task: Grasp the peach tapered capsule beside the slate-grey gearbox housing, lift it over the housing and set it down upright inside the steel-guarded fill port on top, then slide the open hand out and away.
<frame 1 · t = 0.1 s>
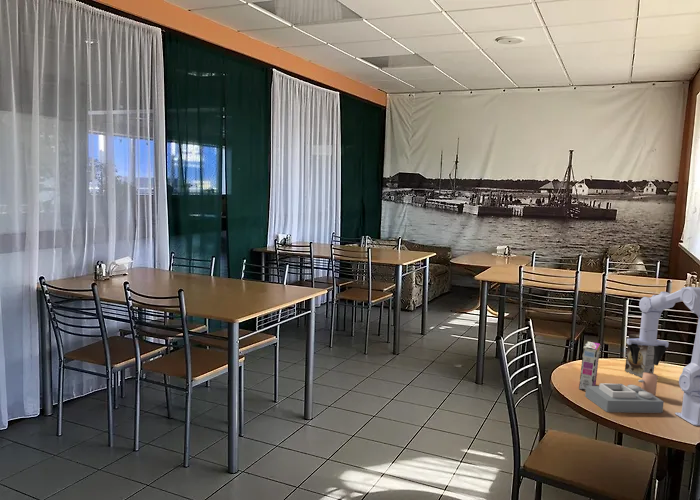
hand: (645, 364, 207), 10 cm above the table, tool pointing down, fingers open, 7 cm apart
candy bar box: (587, 387, 208), on the table
coffee box: (638, 374, 227), on the table
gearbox: (622, 404, 191), on the table
peach tapered capsule: (648, 395, 202), on the table
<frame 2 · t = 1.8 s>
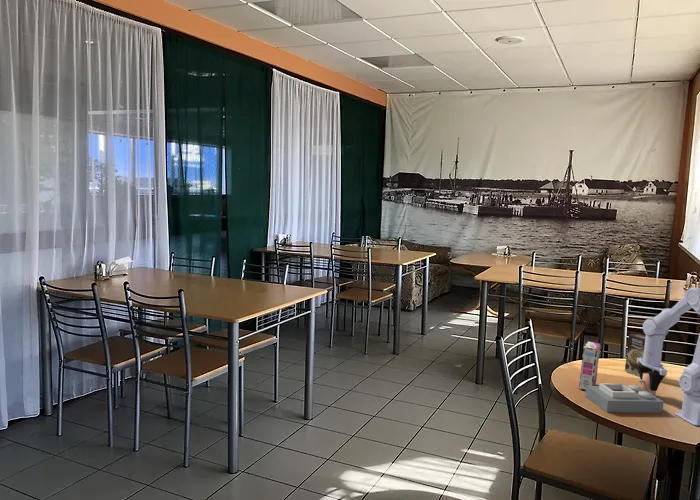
hand: (648, 387, 201), 3 cm above the table, tool pointing down, fingers closed on peach tapered capsule, 5 cm apart
peach tapered capsule: (648, 395, 202), on the table, touching gripper
everything else where it was.
when the fingers open (8 cm above the table, at t = 5.5 s): peach tapered capsule stays where it is, resting on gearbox.
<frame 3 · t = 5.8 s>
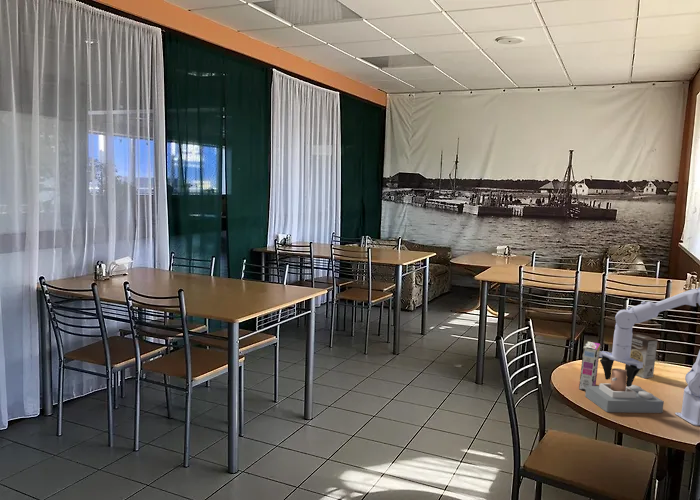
hand: (618, 382, 190), 8 cm above the table, tool pointing down, fingers open, 7 cm apart
peach tapered capsule: (617, 392, 191), point 4 cm above the table, touching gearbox
everything else where it was.
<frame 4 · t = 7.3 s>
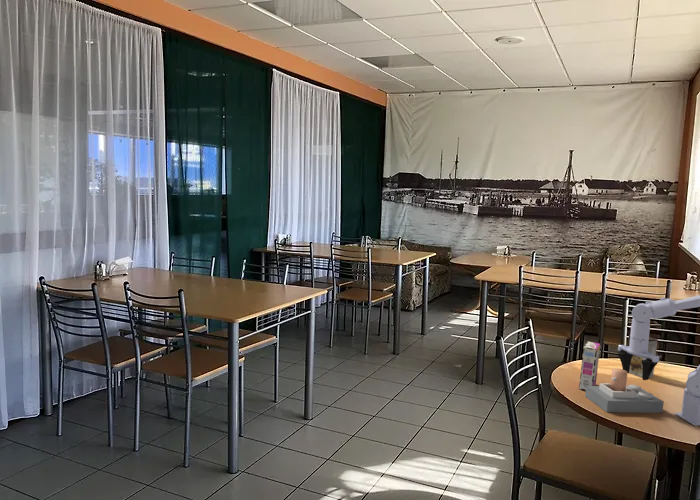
hand: (635, 376, 191), 10 cm above the table, tool pointing down, fingers open, 7 cm apart
nothing on the table moved.
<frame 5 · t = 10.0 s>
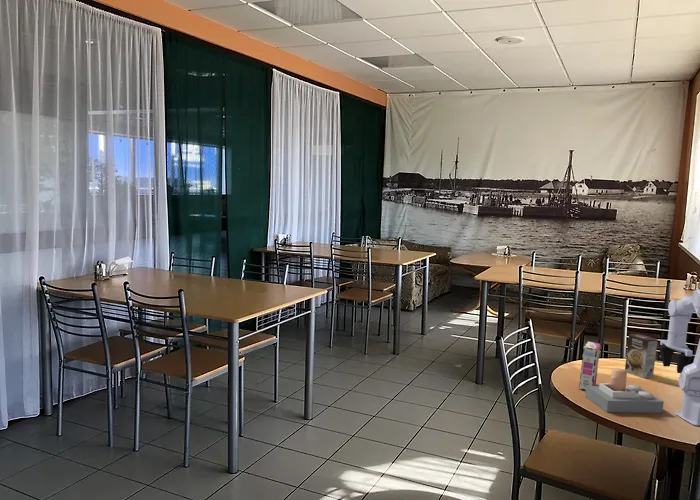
hand: (673, 369, 200), 10 cm above the table, tool pointing down, fingers open, 7 cm apart
nothing on the table moved.
at the end: peach tapered capsule 0.4 cm from the target spot on the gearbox, point 4.2 cm above the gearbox's base; peach tapered capsule tilted 2°; the gripper is holding nothing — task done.
